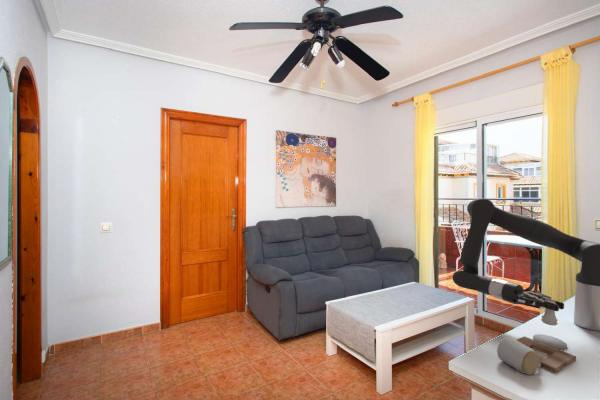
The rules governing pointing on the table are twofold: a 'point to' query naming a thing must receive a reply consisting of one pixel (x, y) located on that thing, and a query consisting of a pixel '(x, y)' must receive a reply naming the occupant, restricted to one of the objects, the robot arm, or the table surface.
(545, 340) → the slate-grey pad
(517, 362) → the ceramic mug
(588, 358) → the table surface
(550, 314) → the rook chess piece
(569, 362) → the walnut frame
